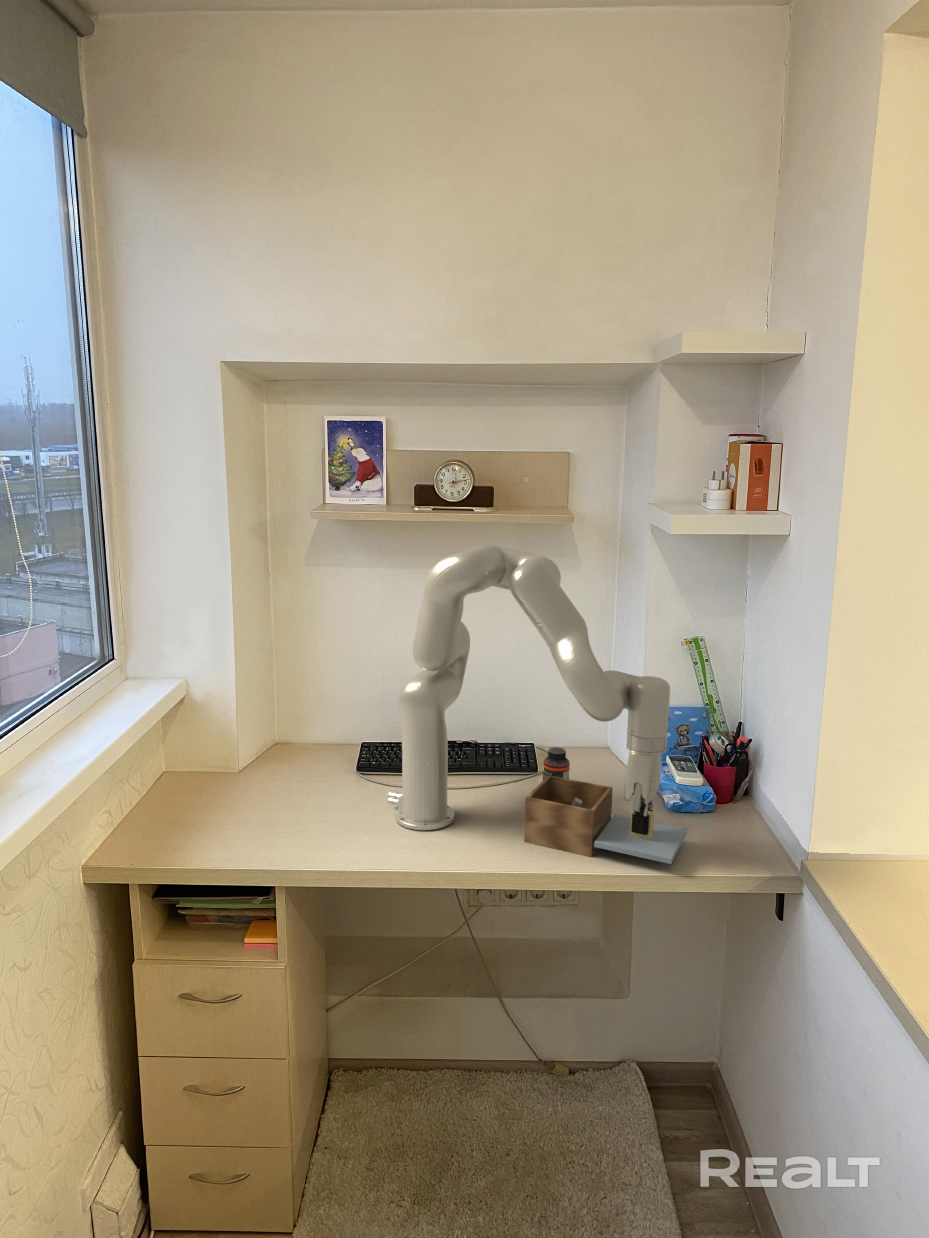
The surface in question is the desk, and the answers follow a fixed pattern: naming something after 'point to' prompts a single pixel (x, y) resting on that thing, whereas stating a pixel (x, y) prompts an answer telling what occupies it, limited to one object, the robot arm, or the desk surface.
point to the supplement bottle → (556, 763)
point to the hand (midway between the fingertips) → (641, 829)
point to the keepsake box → (567, 815)
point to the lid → (641, 839)
